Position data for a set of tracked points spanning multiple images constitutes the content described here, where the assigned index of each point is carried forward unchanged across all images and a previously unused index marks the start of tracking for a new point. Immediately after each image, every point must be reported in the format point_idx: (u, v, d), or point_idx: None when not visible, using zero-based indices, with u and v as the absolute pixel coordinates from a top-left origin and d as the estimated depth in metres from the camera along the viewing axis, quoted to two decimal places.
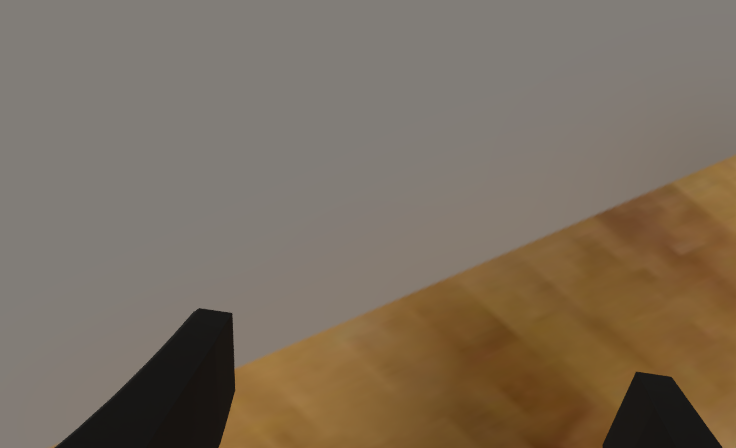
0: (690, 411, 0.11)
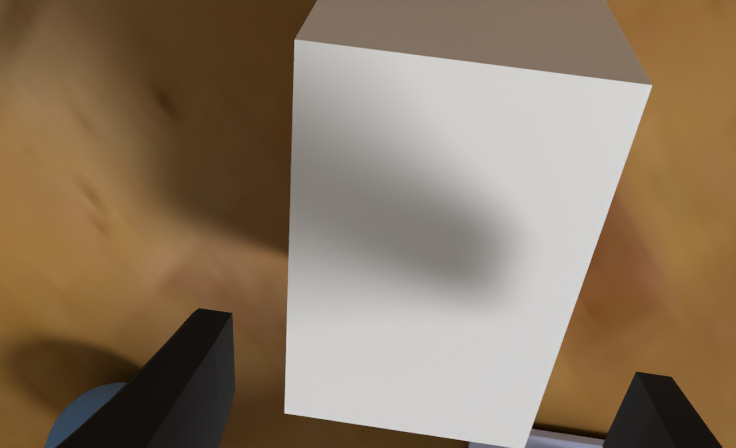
0: (691, 411, 0.11)
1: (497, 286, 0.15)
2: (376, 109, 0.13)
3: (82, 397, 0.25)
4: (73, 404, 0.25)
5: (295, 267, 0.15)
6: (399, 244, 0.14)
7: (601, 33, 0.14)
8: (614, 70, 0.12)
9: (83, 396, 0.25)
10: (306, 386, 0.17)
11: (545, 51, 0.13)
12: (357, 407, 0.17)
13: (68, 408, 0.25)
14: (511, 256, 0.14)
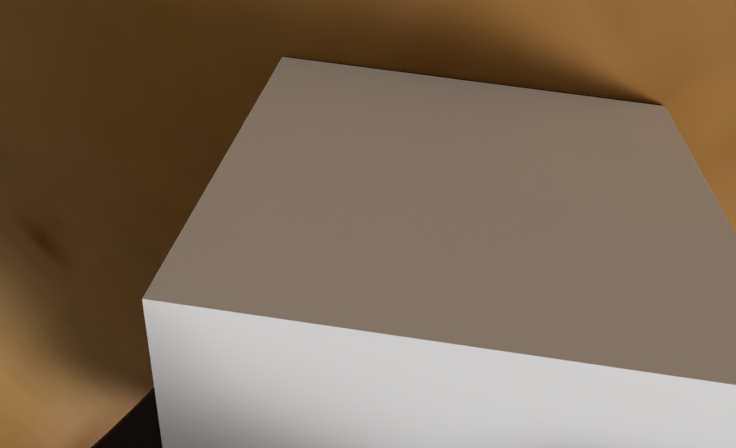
0: None
1: None
2: (303, 404, 0.07)
3: None
4: None
5: None
6: None
7: (697, 232, 0.08)
8: None
9: None
10: None
11: (611, 297, 0.07)
12: None
13: None
14: None
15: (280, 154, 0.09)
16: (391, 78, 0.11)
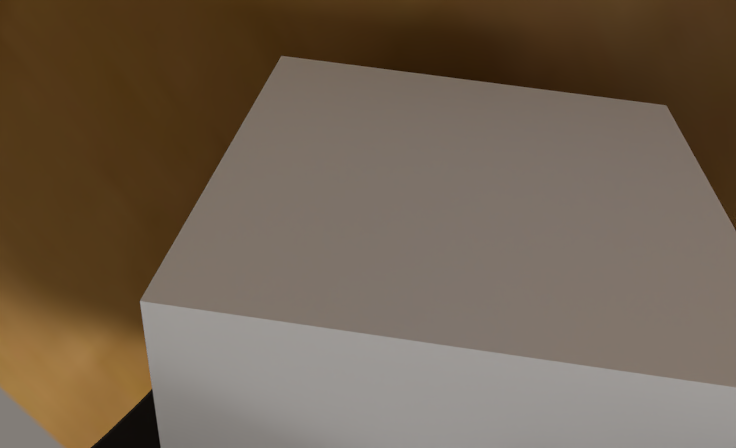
0: None
1: None
2: (303, 406, 0.07)
3: None
4: None
5: None
6: None
7: (698, 232, 0.08)
8: None
9: None
10: None
11: (612, 298, 0.07)
12: None
13: None
14: None
15: (279, 154, 0.09)
16: (391, 78, 0.11)
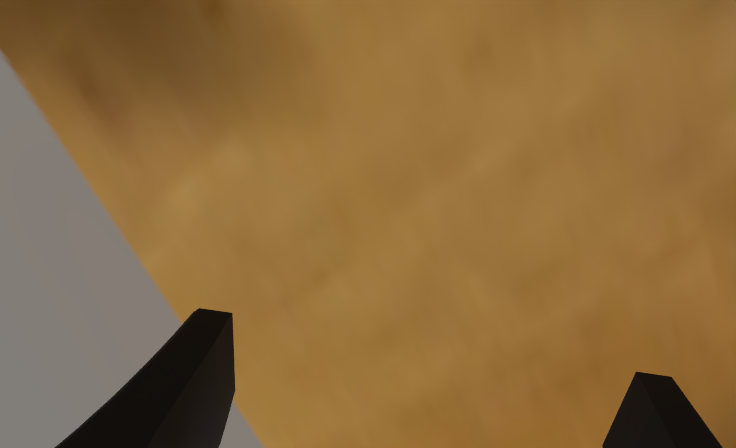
0: (690, 411, 0.11)
1: None
2: None
3: None
4: None
5: None
6: None
7: None
8: None
9: None
10: None
11: None
12: None
13: None
14: None
15: None
16: None
